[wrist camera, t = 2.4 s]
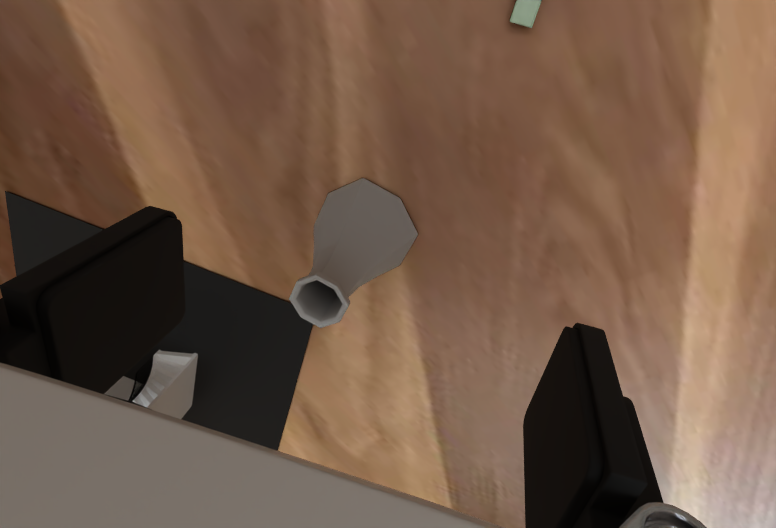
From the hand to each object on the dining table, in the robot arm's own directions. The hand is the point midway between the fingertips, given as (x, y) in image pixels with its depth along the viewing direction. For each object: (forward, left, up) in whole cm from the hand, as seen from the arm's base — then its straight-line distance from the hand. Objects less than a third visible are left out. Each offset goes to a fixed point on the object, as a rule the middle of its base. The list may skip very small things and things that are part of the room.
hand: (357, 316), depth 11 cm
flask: (-4, -9, -22) cm, 24 cm away
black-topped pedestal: (-21, -30, -22) cm, 42 cm away
